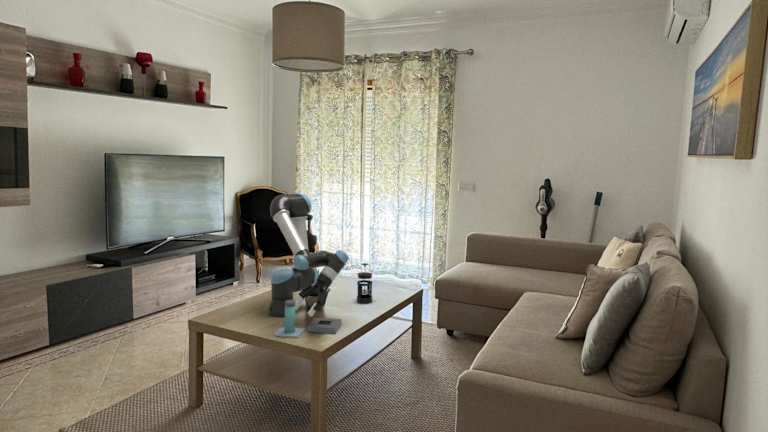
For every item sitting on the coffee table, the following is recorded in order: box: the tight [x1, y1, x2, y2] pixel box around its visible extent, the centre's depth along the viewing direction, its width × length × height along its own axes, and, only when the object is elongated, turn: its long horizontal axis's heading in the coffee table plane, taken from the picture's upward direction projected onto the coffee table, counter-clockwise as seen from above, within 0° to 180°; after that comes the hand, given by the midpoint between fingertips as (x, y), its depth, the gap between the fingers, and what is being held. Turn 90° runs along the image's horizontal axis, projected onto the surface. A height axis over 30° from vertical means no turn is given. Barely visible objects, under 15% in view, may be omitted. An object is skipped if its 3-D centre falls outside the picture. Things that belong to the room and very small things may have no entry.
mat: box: [273, 326, 306, 339], centre depth 259 cm, size 12×12×1 cm
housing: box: [306, 317, 343, 335], centre depth 266 cm, size 14×14×3 cm
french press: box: [356, 262, 373, 305], centre depth 314 cm, size 12×9×23 cm
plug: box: [284, 299, 296, 333], centre depth 258 cm, size 5×5×15 cm
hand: (301, 312), depth 262 cm, fingers open, 13 cm apart
